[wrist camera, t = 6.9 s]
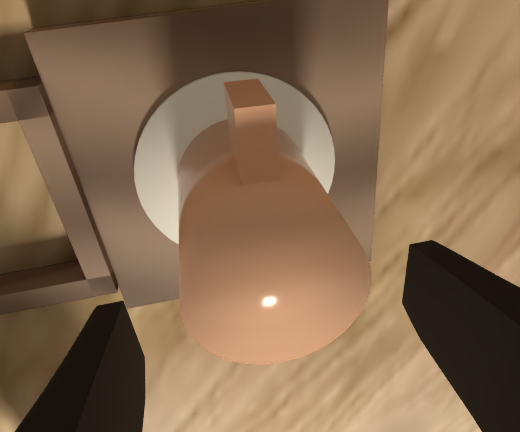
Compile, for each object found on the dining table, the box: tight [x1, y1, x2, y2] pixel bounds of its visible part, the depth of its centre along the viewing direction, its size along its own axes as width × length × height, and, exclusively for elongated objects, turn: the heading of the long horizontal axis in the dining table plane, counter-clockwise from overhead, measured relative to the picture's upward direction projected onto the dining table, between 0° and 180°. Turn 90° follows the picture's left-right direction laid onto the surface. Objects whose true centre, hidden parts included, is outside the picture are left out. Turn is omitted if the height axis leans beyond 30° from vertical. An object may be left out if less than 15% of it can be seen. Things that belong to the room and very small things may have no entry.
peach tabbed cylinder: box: [178, 79, 371, 364], centre depth 13 cm, size 5×7×7 cm
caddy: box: [0, 0, 388, 315], centre depth 16 cm, size 12×21×2 cm, turn 95°
